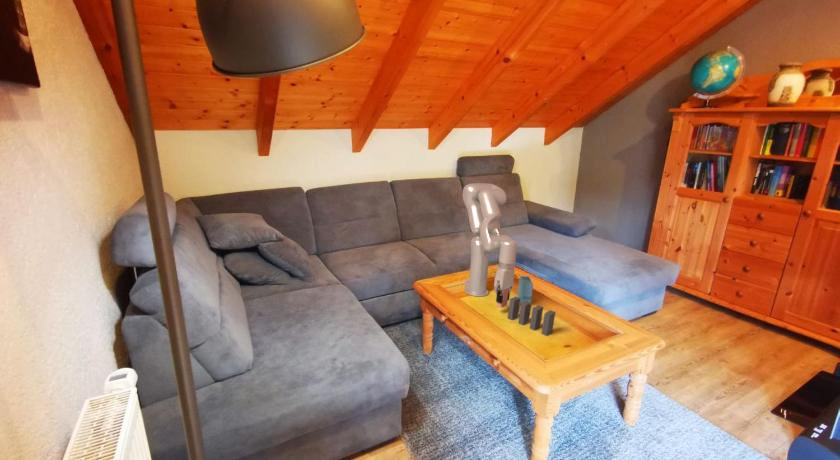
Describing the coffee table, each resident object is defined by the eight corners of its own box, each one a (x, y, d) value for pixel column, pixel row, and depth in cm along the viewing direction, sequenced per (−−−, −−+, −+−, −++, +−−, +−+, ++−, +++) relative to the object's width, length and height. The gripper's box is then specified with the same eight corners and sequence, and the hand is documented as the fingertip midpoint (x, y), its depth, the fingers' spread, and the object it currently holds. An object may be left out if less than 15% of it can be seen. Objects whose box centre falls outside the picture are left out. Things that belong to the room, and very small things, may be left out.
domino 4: (529, 328, 181) (532, 308, 179) (535, 325, 185) (538, 305, 182) (534, 330, 180) (537, 310, 177) (540, 327, 183) (543, 307, 181)
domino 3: (518, 323, 186) (521, 303, 183) (524, 320, 189) (527, 300, 186) (522, 325, 184) (525, 305, 181) (528, 322, 187) (531, 302, 185)
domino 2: (507, 318, 190) (510, 298, 187) (513, 315, 193) (516, 296, 191) (511, 320, 188) (514, 300, 186) (517, 317, 191) (520, 298, 189)
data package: (530, 306, 205) (533, 284, 202) (521, 305, 205) (524, 283, 202) (525, 296, 217) (528, 275, 214) (517, 295, 217) (520, 275, 214)
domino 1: (497, 305, 193) (499, 286, 191) (503, 303, 196) (505, 284, 194) (501, 307, 191) (503, 288, 189) (507, 305, 195) (509, 285, 193)
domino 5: (541, 333, 177) (544, 313, 175) (547, 330, 181) (550, 310, 178) (546, 335, 176) (549, 315, 173) (552, 332, 179) (555, 312, 176)
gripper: (510, 260, 198) (506, 294, 202) (489, 266, 186) (485, 302, 190) (523, 264, 192) (518, 299, 197) (502, 271, 181) (498, 308, 185)
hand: (502, 300), depth 193 cm, fingers closed on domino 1, 4 cm apart
